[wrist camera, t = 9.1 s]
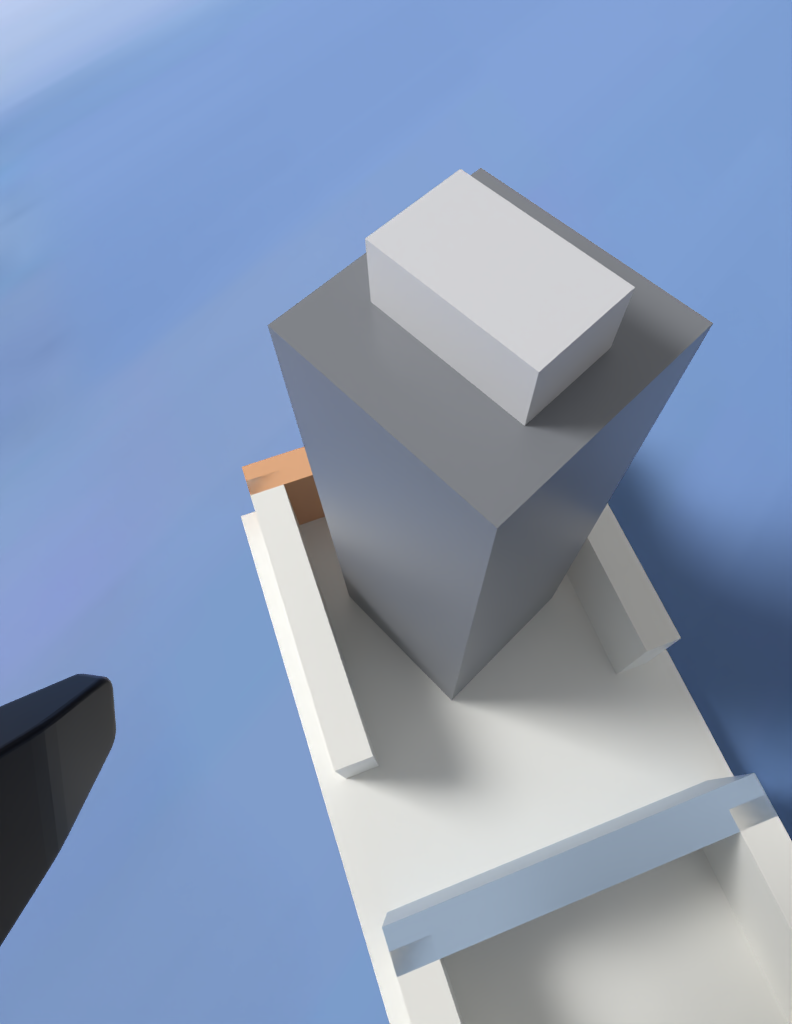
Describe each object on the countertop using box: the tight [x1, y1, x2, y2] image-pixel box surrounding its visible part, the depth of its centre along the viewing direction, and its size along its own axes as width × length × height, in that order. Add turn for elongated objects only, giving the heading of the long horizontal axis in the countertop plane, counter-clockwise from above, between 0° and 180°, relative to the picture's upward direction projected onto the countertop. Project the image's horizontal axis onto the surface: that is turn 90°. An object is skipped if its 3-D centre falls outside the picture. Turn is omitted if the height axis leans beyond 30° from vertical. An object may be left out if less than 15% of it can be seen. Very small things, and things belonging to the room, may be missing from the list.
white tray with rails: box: [241, 447, 792, 1024], centre depth 18 cm, size 22×11×4 cm, turn 20°
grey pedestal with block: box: [268, 168, 713, 700], centre depth 15 cm, size 4×4×14 cm
